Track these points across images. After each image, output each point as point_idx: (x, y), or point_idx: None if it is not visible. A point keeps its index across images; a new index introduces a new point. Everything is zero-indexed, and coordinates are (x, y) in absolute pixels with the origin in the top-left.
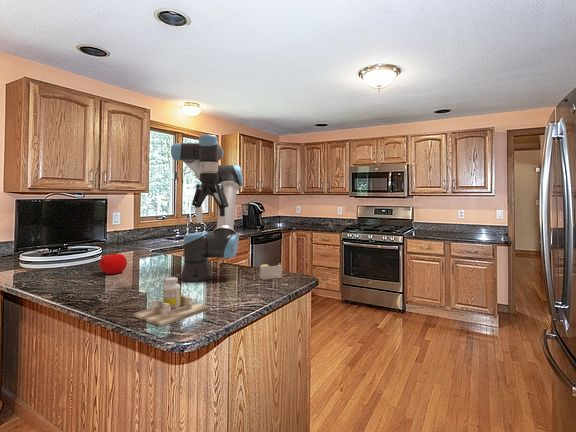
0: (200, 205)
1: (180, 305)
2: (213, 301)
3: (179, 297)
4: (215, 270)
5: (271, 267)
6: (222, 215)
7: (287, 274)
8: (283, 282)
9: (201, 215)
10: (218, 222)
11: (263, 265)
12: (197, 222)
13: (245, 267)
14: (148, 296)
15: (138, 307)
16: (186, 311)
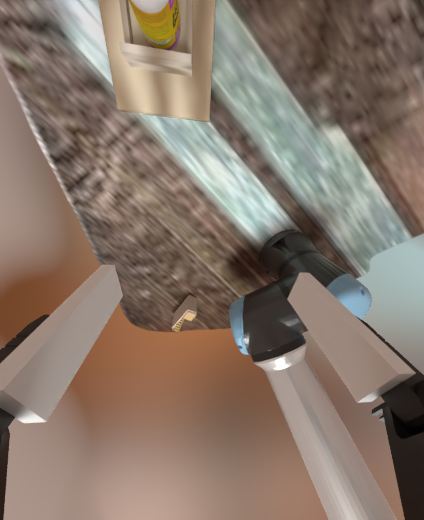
0: (392, 422)
1: (144, 36)
2: (157, 162)
3: (132, 9)
4: None
5: (180, 317)
6: (36, 324)
7: None
8: (154, 298)
9: (312, 326)
10: (100, 272)
11: (189, 314)
12: (300, 272)
13: None
14: (298, 108)
15: (263, 7)
16: (121, 36)
